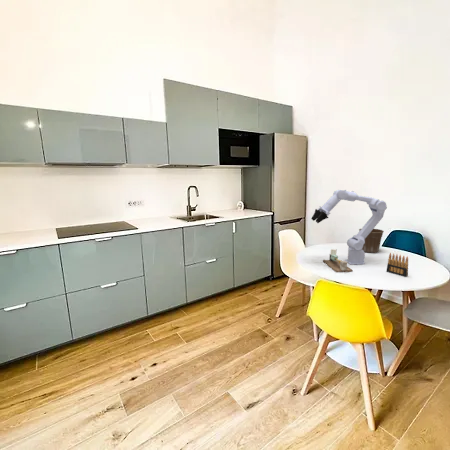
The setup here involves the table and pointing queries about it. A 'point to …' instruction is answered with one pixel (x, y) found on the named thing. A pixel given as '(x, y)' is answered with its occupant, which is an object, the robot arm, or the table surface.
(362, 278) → the table surface
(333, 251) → the green sliding block
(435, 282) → the table surface
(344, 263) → the brown plate
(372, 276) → the table surface
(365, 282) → the table surface
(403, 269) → the ammunition clip
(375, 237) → the plant pot
